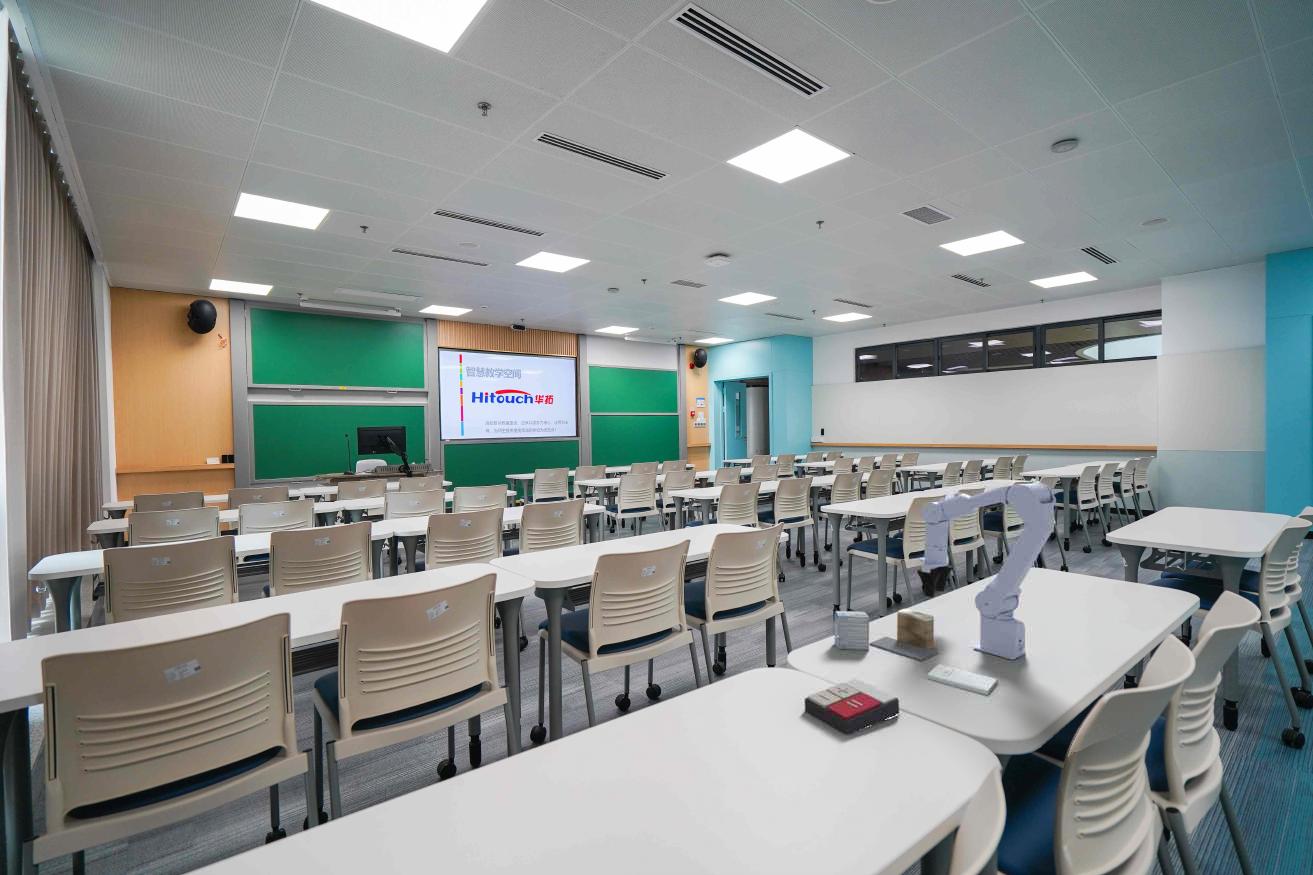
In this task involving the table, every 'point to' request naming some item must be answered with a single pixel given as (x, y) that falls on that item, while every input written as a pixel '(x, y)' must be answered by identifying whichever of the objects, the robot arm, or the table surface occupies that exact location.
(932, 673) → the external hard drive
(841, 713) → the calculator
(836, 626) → the medicine box
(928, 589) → the robot arm
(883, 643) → the mat
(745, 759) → the table surface
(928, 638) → the block
